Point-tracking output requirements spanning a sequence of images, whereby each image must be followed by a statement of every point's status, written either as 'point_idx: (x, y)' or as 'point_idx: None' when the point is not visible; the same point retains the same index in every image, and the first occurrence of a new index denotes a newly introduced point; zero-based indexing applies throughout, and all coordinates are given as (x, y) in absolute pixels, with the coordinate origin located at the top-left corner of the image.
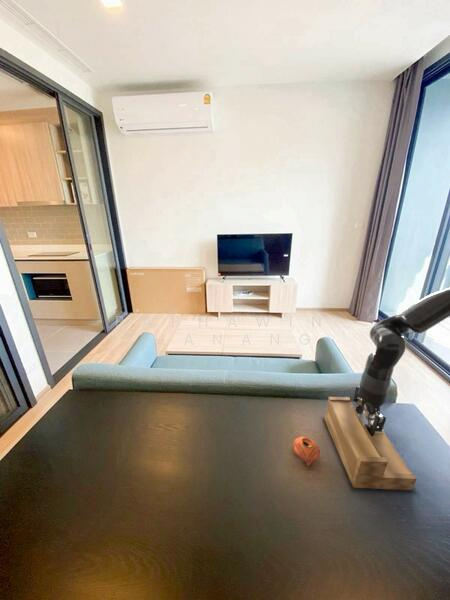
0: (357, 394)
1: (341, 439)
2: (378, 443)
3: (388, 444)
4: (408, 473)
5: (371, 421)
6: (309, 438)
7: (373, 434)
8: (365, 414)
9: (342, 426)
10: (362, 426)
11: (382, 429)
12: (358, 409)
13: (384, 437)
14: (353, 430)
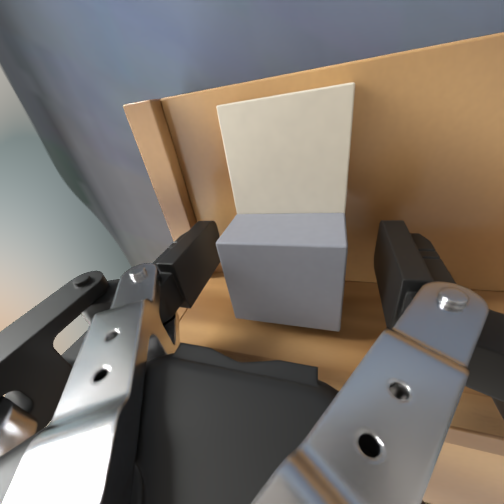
0: (52, 407)
1: None
2: (458, 184)
3: (502, 83)
4: None
5: (248, 168)
6: None
7: (433, 256)
8: (224, 253)
9: None
10: (445, 439)
11: (339, 95)
12: (192, 295)
13: (404, 90)
14: (470, 491)
